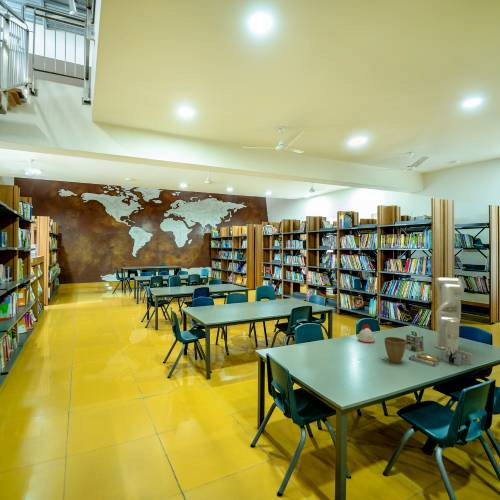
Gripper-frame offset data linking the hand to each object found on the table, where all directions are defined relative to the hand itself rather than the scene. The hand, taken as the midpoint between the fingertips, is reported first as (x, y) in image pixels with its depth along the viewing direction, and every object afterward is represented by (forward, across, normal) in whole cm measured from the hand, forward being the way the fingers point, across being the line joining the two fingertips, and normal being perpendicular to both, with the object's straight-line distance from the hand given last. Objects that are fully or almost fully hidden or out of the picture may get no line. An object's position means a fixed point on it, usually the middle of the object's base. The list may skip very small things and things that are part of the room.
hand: (452, 361), depth 227 cm
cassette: (+1, -9, +4) cm, 10 cm away
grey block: (+1, 0, 0) cm, 1 cm away
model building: (+1, -9, -31) cm, 32 cm away
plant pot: (+1, +29, -27) cm, 40 cm away
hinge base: (+1, +8, -14) cm, 16 cm away
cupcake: (+2, +2, -68) cm, 68 cm away
